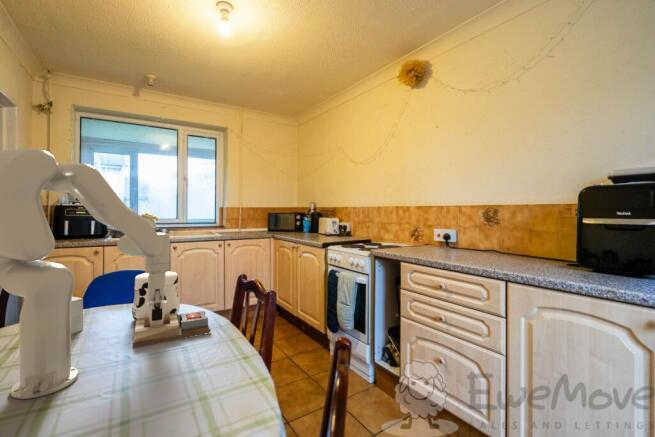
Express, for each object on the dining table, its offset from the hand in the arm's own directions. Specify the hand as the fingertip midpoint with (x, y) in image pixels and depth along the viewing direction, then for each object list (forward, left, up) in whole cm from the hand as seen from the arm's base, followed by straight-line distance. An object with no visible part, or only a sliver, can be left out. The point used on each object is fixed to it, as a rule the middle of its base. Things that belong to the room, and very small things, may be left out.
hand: (156, 316), depth 105 cm
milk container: (+19, 0, -7) cm, 20 cm away
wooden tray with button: (0, -5, -7) cm, 9 cm away
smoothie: (0, 0, -5) cm, 5 cm away
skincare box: (+18, +27, -7) cm, 33 cm away
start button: (0, -12, -5) cm, 13 cm away
